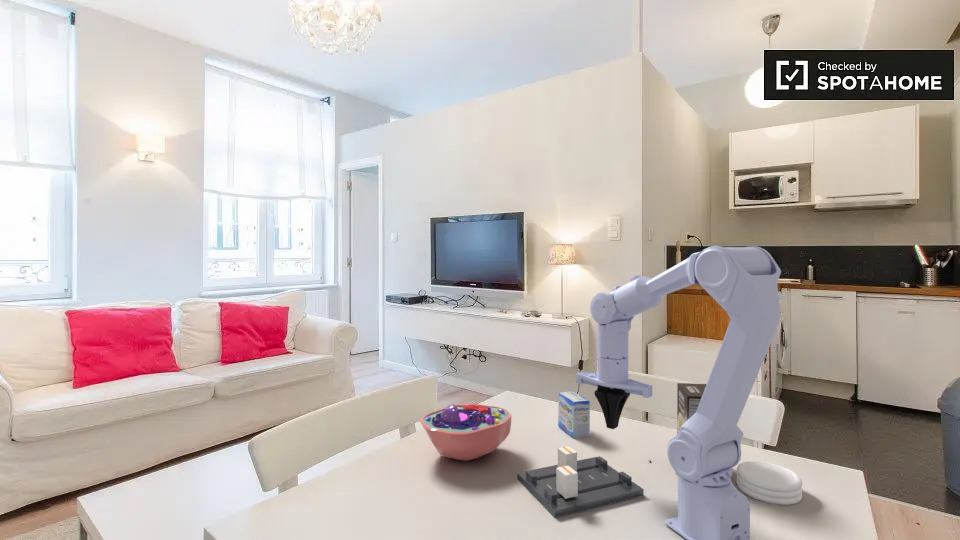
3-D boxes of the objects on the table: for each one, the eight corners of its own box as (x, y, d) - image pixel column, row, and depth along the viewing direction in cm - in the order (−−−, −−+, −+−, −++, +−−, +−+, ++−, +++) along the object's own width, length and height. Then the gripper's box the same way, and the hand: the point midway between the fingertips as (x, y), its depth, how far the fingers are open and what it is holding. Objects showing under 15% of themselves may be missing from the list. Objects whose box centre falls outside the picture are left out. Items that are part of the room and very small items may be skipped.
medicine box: (557, 427, 114) (557, 392, 113) (573, 424, 115) (573, 390, 115) (573, 439, 106) (573, 402, 106) (590, 436, 107) (590, 400, 107)
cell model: (527, 460, 95) (527, 407, 95) (437, 482, 87) (436, 423, 86) (491, 432, 110) (490, 386, 110) (411, 448, 102) (410, 398, 101)
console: (643, 495, 81) (643, 482, 81) (555, 517, 74) (554, 503, 74) (596, 462, 94) (596, 451, 94) (517, 479, 87) (517, 466, 87)
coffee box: (675, 457, 96) (676, 381, 95) (708, 460, 95) (709, 383, 94) (686, 478, 87) (686, 395, 86) (722, 481, 86) (723, 396, 85)
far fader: (577, 473, 86) (577, 451, 86) (566, 475, 85) (566, 453, 85) (568, 466, 89) (568, 445, 89) (557, 468, 88) (557, 447, 88)
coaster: (797, 485, 84) (797, 466, 84) (807, 512, 76) (807, 491, 75) (735, 473, 89) (735, 456, 89) (737, 498, 80) (737, 478, 80)
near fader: (577, 495, 78) (577, 472, 78) (565, 498, 77) (565, 474, 77) (568, 487, 81) (568, 464, 81) (556, 490, 80) (556, 467, 80)
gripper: (659, 358, 84) (658, 430, 85) (588, 347, 94) (588, 412, 95) (643, 365, 79) (642, 442, 80) (570, 353, 89) (570, 422, 89)
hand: (612, 427), depth 87 cm, fingers closed
